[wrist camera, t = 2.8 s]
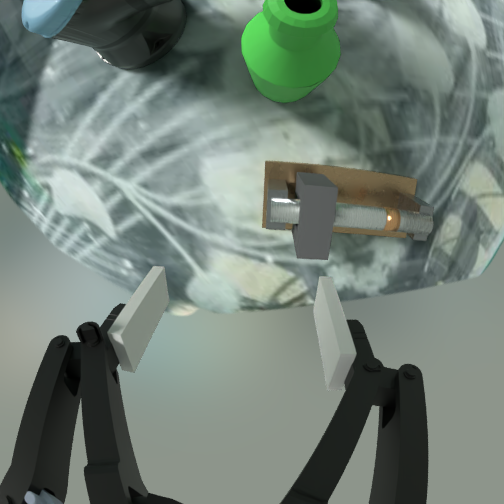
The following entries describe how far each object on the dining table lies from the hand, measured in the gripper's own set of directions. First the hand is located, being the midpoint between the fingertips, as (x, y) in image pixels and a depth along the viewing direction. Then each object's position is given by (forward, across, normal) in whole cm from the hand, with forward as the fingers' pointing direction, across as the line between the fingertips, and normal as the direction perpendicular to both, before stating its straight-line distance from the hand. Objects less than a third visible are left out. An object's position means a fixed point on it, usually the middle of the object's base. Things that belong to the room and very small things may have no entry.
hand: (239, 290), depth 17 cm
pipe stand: (+26, +13, 0) cm, 29 cm away
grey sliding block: (+22, +7, 0) cm, 23 cm away
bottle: (+26, +3, +18) cm, 32 cm away
